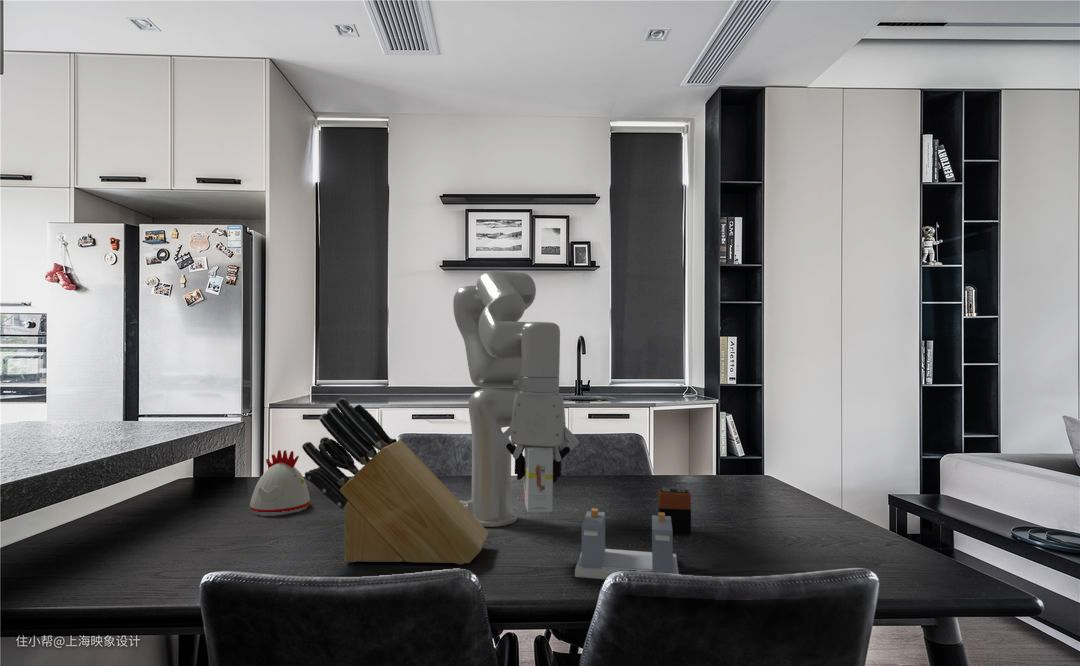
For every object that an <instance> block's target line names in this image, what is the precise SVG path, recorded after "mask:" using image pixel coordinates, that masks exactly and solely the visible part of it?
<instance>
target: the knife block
mask: <svg viewBox="0 0 1080 666" xmlns="http://www.w3.org/2000/svg"><path fill="white" fill-rule="evenodd" d="M335 406H336V407H335ZM335 406H331V407H329V408H328V409H327V412H326V413H322V414H321V415H320V416H319V421H320V423H321V425H322V426H323V427H324V428H325V429H326V430H327V432H328V433H329V435H331V436H332V437H333V438H329V437H327V436H324V437H322V438H320V441H319V444H318V446H317V447H318V448H317V447H316V446H315V445H314V444H313V443H312V442H311V441H306V442H304V443H303V444H302V446H301V448H302V450H303V452H305V454H306V455H307V456H308V457H309V458H310V459H311V460H312V461H313V463H315V464H316V465H317V466H318V467H317V468H313V469H309V471H306V472H304V477H305V478H304V479H305V481H308V482H310V483H312V485H314V486H315V487H316V488H317V489H318V490H319V491H320V492H321V493H322V494H323V495H325V497H327V499H329V500H330V501H331V502H333V503H334V504H335V505H336V506H337V507H339V509H342V510H344V561H345V562H350V561H352V562H353V561H358V562H364V563H365V562H369V563H370V562H393V563H394V562H408V563H433V564H434V563H439V564H440V563H442V564H443V563H444V564H446V563H447V564H451V563H452V564H455V565H464V564H470V563H471V562H472V561H473V560H474V559H475V558H476V556H478V555H479V553H481V551H482V550H483V546H484V544H485V543H486V540H487V538H488V536H489V534H490V532H489V531H488V530H487V529H486V527H483V526H482V525H481V524H480V523H479V522H478V521H477V519H476V518H475V517H474V516H473V515H472V514H471V513H470V512H469V511H468V510H467V509H466V508H465V507H464V506H463V505H462V503H461V502H460V501H459V500H460V499H458V498H457V497H456V496H455V494H453V493H452V491H450V490H449V488H448V487H447V486H446V485H445V484H444V483H443V482H442V481H441V480H440V479H439V478H438V477H437V476H436V475H435V474H434V472H432V470H431V469H430V468H429V467H428V466H427V465H426V464H425V463H424V462H423V461H422V460H421V459H420V457H418V456H417V455H416V454H415V453H414V451H413V450H412V449H411V448H410V447H409V446H408V445H406V443H405V442H404V441H403V440H400V439H399V440H397V439H396V438H392V437H390V436H389V434H387V433H386V431H385V430H384V429H383V427H382V425H380V423H379V422H378V421H377V419H376V418H375V417H374V416H373V415H372V414H371V413H370V412H369V411H368V410H367V409H366V408H365V407H363V405H361V404H358V405H356V406H354V407H353V406H352V405H351V404H350V403H349V401H348V400H347V399H346V398H344V397H340V398H338V399H337V400H336V401H335ZM376 449H377V450H378V452H377V450H376ZM355 461H356V462H357V463H359V464H360V465H362V467H361V468H360V469H359V468H358V467H357V465H355ZM341 469H343V470H346V471H348V472H350V473H351V474H353V476H352V477H351V478H350V477H348V476H347V474H345V473H344V472H343V471H342V470H341Z"/></svg>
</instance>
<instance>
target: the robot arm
mask: <svg viewBox="0 0 1080 666" xmlns="http://www.w3.org/2000/svg"><path fill="white" fill-rule="evenodd" d="M536 293H537V288H536V284H535V281H534V279H533V278H532V277H531V275H529V274H527V273H525V272H519V271H518V272H515V271H503V270H489V271H486V272H484V273H483V274H481V275H480V276H479V278H478V279H477V282H476V285H467V286H463V287H460V288H459V289H457V290H456V291H455V294H454V296H453V302H452V303H453V304H452V306H453V308H452V309H453V315H454V316H453V317H454V320H455V323H456V326H457V328H458V330H459V332H460V334H461V337H462V339H463V343H464V345H465V348H464V349H465V354H466V360H467V366H468V372H469V373H468V374H469V376H470V381H471V382H472V384H473V385H474V386H475V387H478V388H481V389H478V390H475V391H474V392H473V393H472V394H471V395H470V397H469V399H468V414H469V422H470V429H471V499H468V500H460V499H458V500H459V501H460V502H461V503H462V505H463V506H464V507H465V508H466V509H467V510H468V511H469V512H470V513H471V514H472V515H473V516H474V517H475V518H476V519H477V521H478V522H479V523H480V524H481V525H482V526H483V527H484V528H486V527H487V528H493V527H496V528H497V527H503V526H507V525H510V524H514V523H515V522H516V521H517V520H518V514H517V512H515V511H514V510H513V509H512V506H511V505H512V457H513V458H514V474H515V475H516V479H517V481H521V480H522V479H524V463H525V457H524V449H525V446H534V447H552V448H553V449H552V450H553V484H554V483H557V481H558V480H559V478H561V476H562V460H563V459H564V458H565V457H566V456H567V455H568V454H569V453H570V452H571V451H572V450H573V449H574V448H575V447H577V446H578V445H579V443H580V441H579V439H578V438H577V437H576V435H574V434H573V432H571V430H569V428H568V427H567V426H566V416H565V415H566V413H565V412H566V411H565V404H564V403H565V402H564V395H563V393H560V361H561V360H560V358H561V357H560V355H561V350H560V349H561V329H560V326H559V325H558V324H557V323H555V322H547V321H546V322H545V321H544V322H543V321H529V322H528V321H520V319H522V317H523V316H524V313H525V311H526V310H527V309H528V308H530V307H531V306H532V304H533V303H534V301H535V298H536V295H537V294H536ZM507 427H508V428H507ZM502 428H507V429H506V430H505V431H504V432H503V430H502ZM565 440H567V441H568V443H567V445H566V446H564V447H563V448H562V447H561V445H562V444H563V443H564V442H565Z"/></svg>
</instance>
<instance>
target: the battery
mask: <svg viewBox="0 0 1080 666" xmlns="http://www.w3.org/2000/svg"><path fill="white" fill-rule="evenodd" d="M657 491H658V492H657V500H658V501H657V503H658V505H657V506H658V512H664V513H665V516H671V523H672V530H673V535H677V536H678V535H680V536H690V535H691V534H692V494H691V493H690V491H689V490H688V489H687V487H686V486H676V488H670V486H662V488H659V489H658V490H657ZM658 512H657V513H658Z"/></svg>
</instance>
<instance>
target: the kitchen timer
mask: <svg viewBox="0 0 1080 666" xmlns="http://www.w3.org/2000/svg"><path fill="white" fill-rule="evenodd" d="M294 456H295V455H294V451H293V450H291V451H290V452H289V455H288V453H287V450H286V449H285V450H283V453H282V451H281V449H279V450H277V455H276V454H274V453H273V454H271V459H272V460H270V459H269V458H267V459H265V460H266V464H267V466H268V468H267V470H266V471H264V473H263V474H262V475H261V476H260V478H259V479H258V481H257V483H256V485H255V488H254V490H253V493H252V494H251V499H250V503H249V510H250V509H251V510H253V511H258V512H282V511H290V510H295V509H299V508H303V507H306V506H308V505H309V504H310V505H311V503H310V502H311V498H310V497H311V496H310V492H309V489H308V485H307V482H306V479H305V478H304V476H303V474H302V473H301V472H300V471H299V470H298V469H297V467H296V463H297V462H298V461H299V460H298V459H299V457H300V456H299V455H297V456H296V457H295V458H294ZM271 461H272V462H271Z"/></svg>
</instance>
